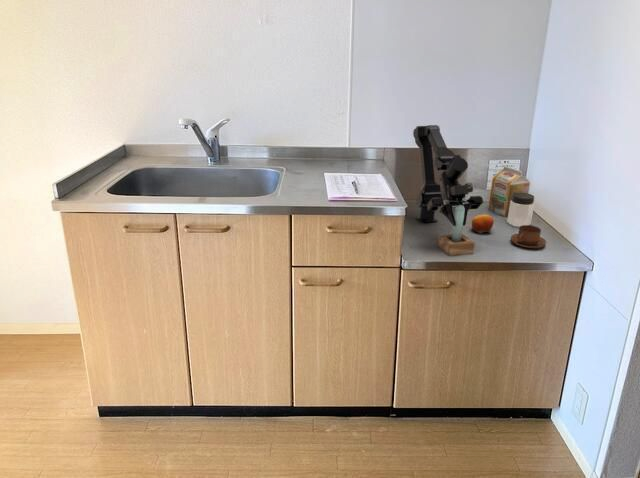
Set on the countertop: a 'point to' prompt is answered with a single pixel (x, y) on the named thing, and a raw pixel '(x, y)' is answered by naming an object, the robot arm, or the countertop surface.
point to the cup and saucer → (528, 237)
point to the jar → (521, 209)
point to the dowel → (458, 223)
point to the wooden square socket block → (456, 245)
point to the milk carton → (506, 189)
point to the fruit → (482, 223)
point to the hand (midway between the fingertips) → (459, 225)
